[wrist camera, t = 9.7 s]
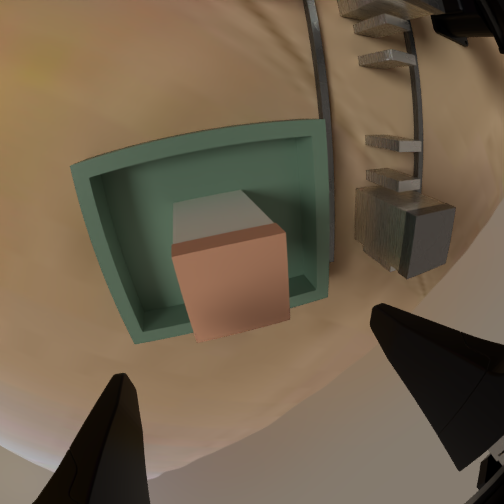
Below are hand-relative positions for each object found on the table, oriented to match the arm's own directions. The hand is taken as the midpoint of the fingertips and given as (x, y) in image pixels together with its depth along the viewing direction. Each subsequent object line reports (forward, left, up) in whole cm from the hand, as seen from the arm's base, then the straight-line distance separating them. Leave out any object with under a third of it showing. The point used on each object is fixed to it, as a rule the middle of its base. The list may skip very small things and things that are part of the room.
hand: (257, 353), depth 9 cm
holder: (-14, -8, -12) cm, 20 cm away
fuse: (0, 0, -12) cm, 12 cm away
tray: (0, 0, -12) cm, 12 cm away
